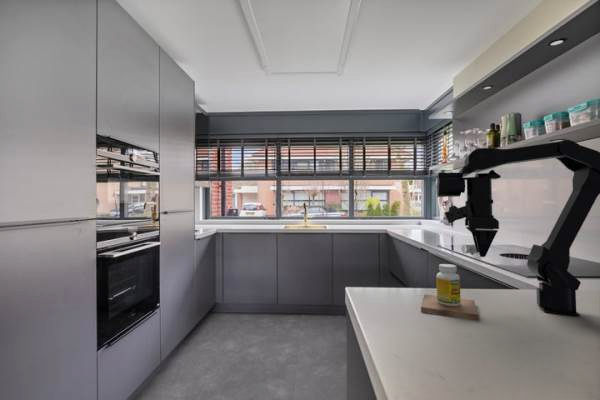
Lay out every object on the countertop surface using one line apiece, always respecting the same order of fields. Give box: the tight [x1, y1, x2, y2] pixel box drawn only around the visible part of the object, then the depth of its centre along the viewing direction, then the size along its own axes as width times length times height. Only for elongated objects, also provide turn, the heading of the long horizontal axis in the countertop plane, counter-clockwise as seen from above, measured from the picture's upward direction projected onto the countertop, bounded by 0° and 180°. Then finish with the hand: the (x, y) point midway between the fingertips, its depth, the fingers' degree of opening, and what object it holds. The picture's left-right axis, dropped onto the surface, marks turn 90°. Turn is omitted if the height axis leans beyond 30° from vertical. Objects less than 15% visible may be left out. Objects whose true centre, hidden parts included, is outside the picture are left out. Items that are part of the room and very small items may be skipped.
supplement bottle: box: [435, 263, 461, 306], centre depth 73 cm, size 5×5×10 cm
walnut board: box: [420, 294, 479, 321], centre depth 73 cm, size 12×12×1 cm
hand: (480, 254), depth 77 cm, fingers open, 9 cm apart
